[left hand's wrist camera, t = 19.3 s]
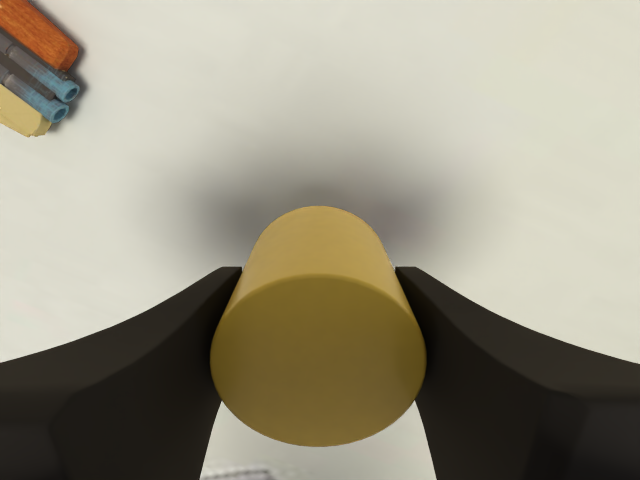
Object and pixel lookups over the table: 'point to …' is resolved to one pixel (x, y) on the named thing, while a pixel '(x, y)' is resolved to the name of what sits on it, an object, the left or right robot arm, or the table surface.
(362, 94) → the table surface
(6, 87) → the toy gun
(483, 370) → the left robot arm
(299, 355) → the tin
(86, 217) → the table surface
